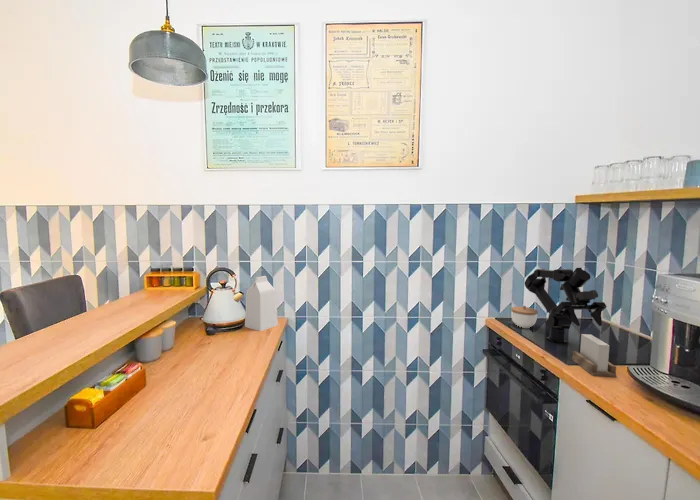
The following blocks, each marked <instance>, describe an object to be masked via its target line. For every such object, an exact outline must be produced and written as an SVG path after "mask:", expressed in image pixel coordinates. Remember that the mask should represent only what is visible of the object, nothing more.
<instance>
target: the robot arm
mask: <svg viewBox="0 0 700 500" xmlns="http://www.w3.org/2000/svg"><path fill="white" fill-rule="evenodd" d="M546 278H547V279H552V280H553V281H554V282H555V281H556V282H559V283H560V282H561V283H562V282H563V283H562V284H561V285H560V287H559V290H560V291H564V294H565V296H566V298H565V300H566V301H561V302H559V304H558V305H557V304H556V302H555V301H554V300H553V298H552V297H551V296H550V294H549V293H548V292H547V290H546V289H545V287H546V283H547V280H546ZM590 279H591V274H590V272H589V273H588V271H586V270H584V269H583V268H582V267H576V268H575V269H574V270H573V269H571V268H570V269H564V268H563V269H562V268H561V269H559V268H558V269H553V270H552V269H545V268H544V269H543V268H542V269H541V268H537V269H535V270H534V271H533V272H532V273H531V274H529V275H528V276H527V277H526V279H525V281H524V286H525V288H526V289H527V290H528V291H529V292H530V293H533V294H534V295H535V296H536V297H537V299H538V300H539V301H540V303H541V304H542V305H543V307H544V309H545V310H546V311H547V313H548V316H547V317H548V319H546V320H545V323H544V324H545V327H547V328H548V329H549V336H546V337H545V338H546V339H547V340H548V341H551V342H553V343H554V344H555V343H568V340H566V339H565V338H566V337H565V335H566V330H570V328H571V325H572V323H573V324H574V325H576V326H577V327H579V326H580V325H581V323H580V321H579V319H578V317H577V315H576V313H575V310H577V311H580V310H582V311H583V310H584V311H586V310H587V311H588V312H589V314H590V317H591V318H592V319H593V320H594V322H595V323H596V324H597V325H598V327H601V326H602V325H603V323H602V322H603V321H602V312H603V311H604V310H605V309H606V308H608V306H607V304H606V303H605V302H604V301H593V303H591V300H596V299H597V298H599V293H598V292H597V290H596V289H591V290H588V291H587V290H586V291H581V289H580V288H582V287H583V286H584V285H586V284H587V282H589V281H590ZM589 303H591V304H589Z"/></svg>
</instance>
